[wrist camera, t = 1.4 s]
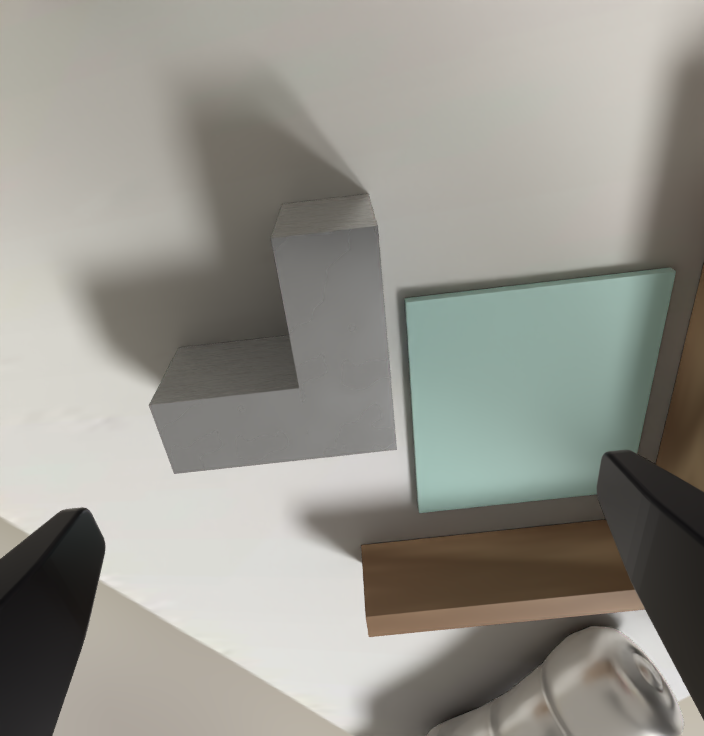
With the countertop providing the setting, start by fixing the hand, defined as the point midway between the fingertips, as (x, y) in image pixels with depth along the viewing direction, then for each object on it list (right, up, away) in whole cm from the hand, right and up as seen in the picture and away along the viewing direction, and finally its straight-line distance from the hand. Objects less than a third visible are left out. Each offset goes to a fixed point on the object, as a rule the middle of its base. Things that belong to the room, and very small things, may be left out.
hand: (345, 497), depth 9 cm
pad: (+8, +1, +13) cm, 16 cm away
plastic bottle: (+16, -14, +19) cm, 28 cm away
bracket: (-3, +4, +11) cm, 12 cm away
